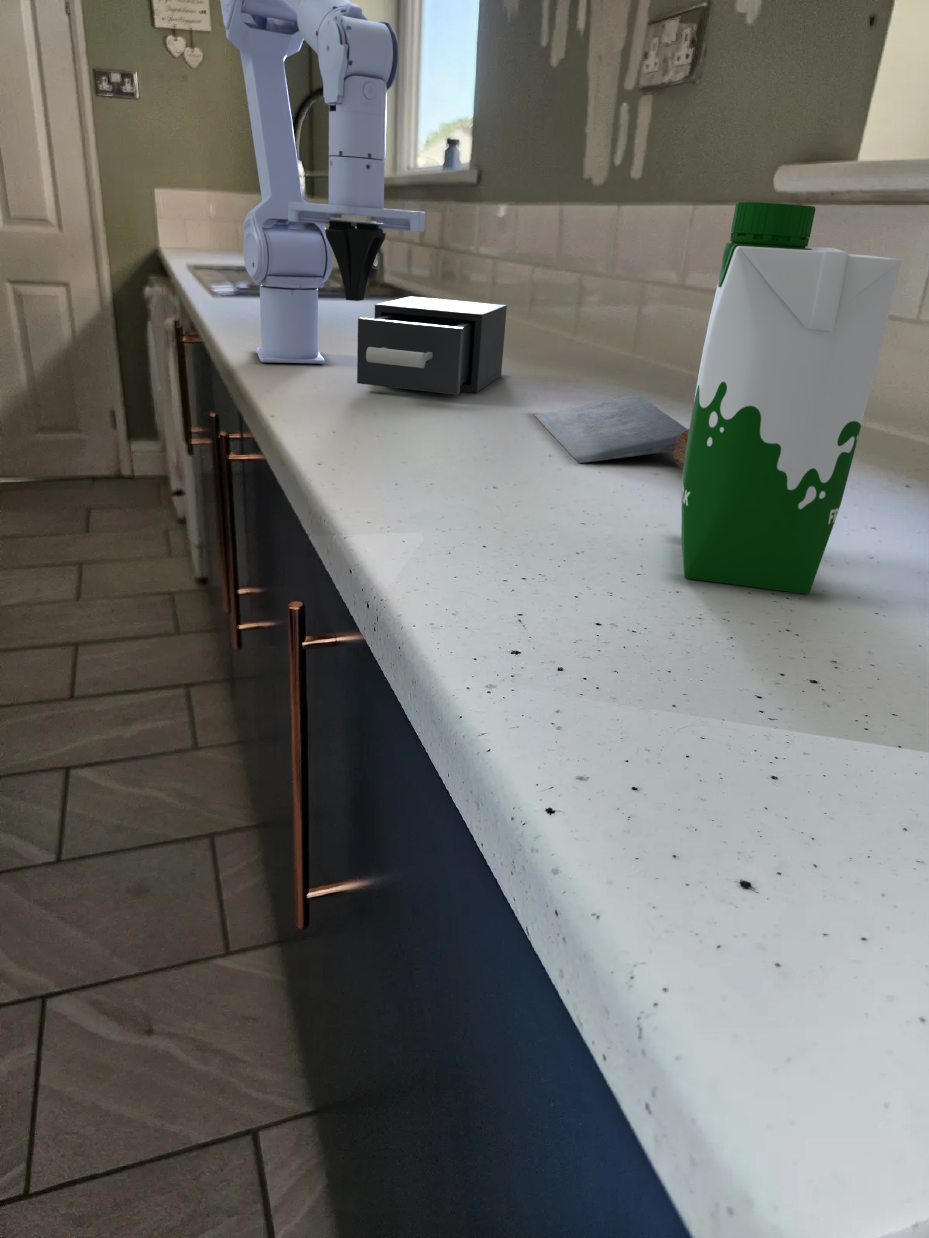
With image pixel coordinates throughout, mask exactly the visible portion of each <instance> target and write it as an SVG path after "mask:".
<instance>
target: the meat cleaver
mask: <svg viewBox="0 0 929 1238" xmlns="http://www.w3.org/2000/svg"><path fill="white" fill-rule="evenodd" d="M534 417H535V418H536V419H537V420H538V421H539V422H540V423H541V424H542V425H543V426H544V427H545V428H546V429H547V431H548V432H549V433H550V434H551V435H552V437H554V438H555V440H557V441H558V442H559V443H560V445H561V446H562V447H563V448H564V449H565V450H566V451H567V452H568V454H570V455H571V456H572V458H573V459H574V460H575V461H576V462H577V463H578V464H584V463H591V462H600V461H607V460H613V459H614V460H615V459H622V458H630V457H637V456H645V455H646V456H647V455H651V454H652V455H653V454H660V453H669V452H673V455H672V456H673V459H674V462H675V464H676V465H677V466H678V467H679V468H680V469H682V470H683V467H684V457H685V451H686V445H687V439H688V433H689V428H687V427H685V426H684V425H683V424H682V423H679V422H678V421H677V420H676V419H675V418H672V417H671V416H670V415H669V414H667V413H666V412H664V411H662V410H661V409H660V408H658V407H657V406H655V405H653V404H652V403H651V402H649V401H648V400H646V399H645V398H643V397H642V396H641V395H640V394H632V395H626V396H621V397H617V398H612V399H606V400H602V401H596V402H592V403H586V404H583V405H577V406H572V407H567V408H562V409H557V410H552V411H547V412H543V413H538V414H534Z"/></svg>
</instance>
